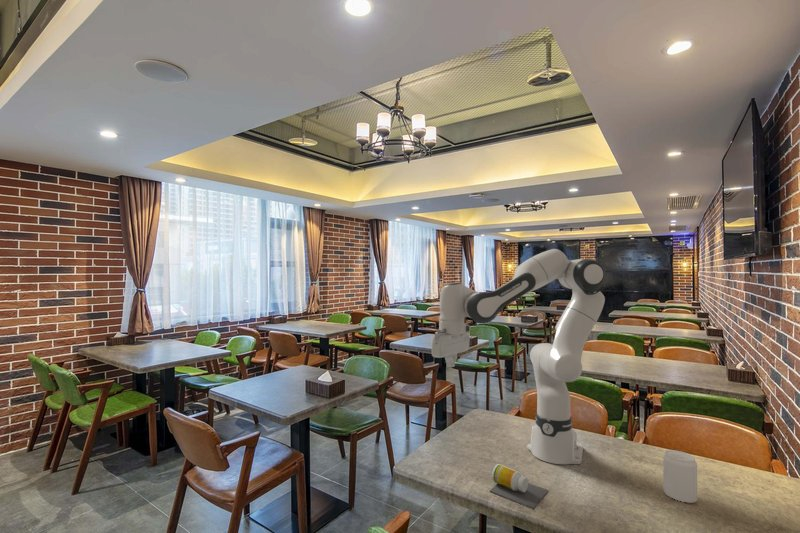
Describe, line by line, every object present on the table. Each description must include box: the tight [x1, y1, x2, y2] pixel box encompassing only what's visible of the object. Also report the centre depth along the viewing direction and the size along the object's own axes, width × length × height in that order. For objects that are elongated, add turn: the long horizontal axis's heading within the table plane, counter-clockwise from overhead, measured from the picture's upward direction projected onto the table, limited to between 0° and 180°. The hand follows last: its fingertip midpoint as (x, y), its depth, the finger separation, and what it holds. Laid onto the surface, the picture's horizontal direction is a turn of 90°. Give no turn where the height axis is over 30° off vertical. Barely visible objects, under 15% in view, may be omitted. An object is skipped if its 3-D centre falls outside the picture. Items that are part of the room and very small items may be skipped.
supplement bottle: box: [491, 463, 529, 492], centre depth 116 cm, size 5×5×10 cm
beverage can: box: [662, 449, 698, 504], centre depth 114 cm, size 8×8×12 cm
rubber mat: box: [489, 482, 549, 510], centre depth 114 cm, size 12×13×1 cm
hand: (450, 366), depth 138 cm, fingers closed
